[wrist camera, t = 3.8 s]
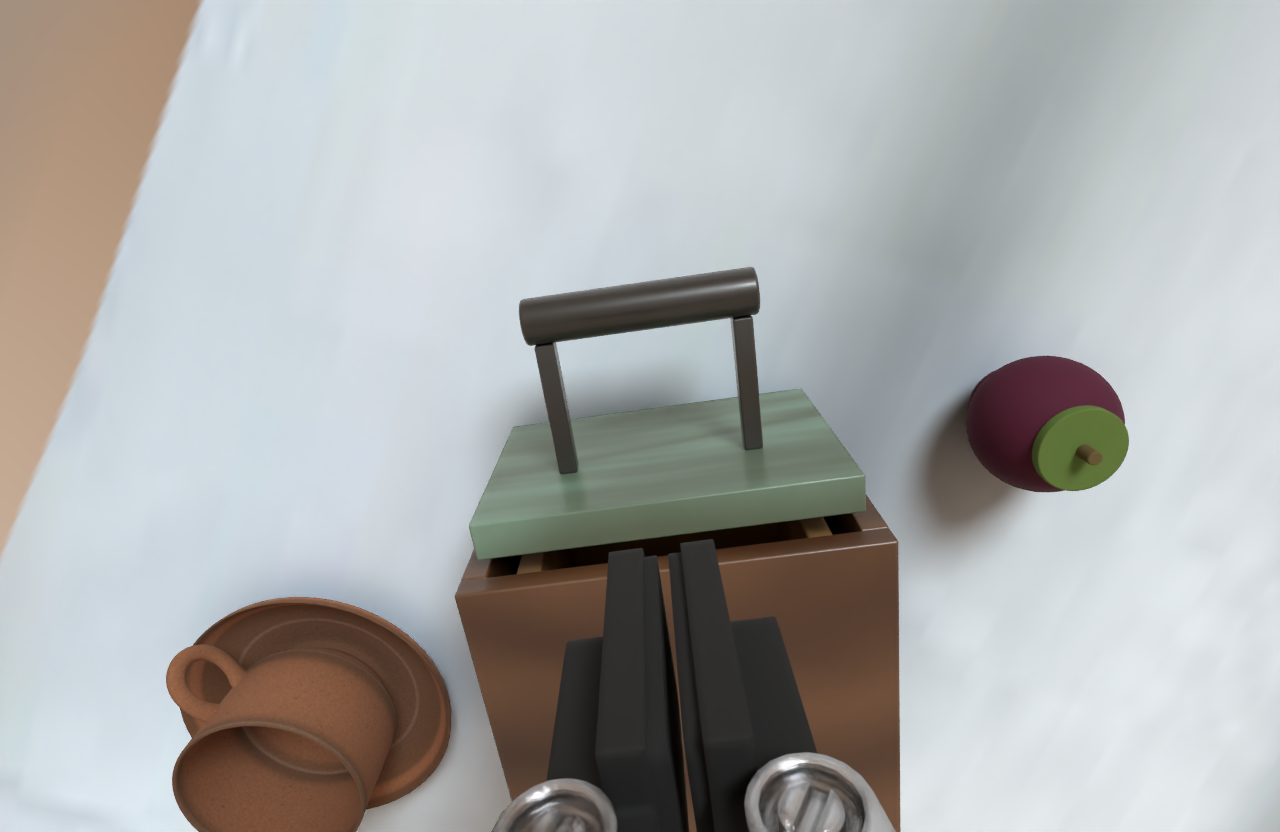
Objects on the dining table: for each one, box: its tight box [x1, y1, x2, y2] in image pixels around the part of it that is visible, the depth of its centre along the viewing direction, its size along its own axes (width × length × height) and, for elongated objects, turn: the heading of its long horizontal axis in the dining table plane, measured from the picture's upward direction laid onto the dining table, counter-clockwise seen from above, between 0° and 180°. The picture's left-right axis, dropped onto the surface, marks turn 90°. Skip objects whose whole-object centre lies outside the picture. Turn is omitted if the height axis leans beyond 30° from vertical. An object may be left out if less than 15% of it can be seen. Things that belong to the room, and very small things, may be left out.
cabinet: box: [455, 495, 900, 832], centre depth 26 cm, size 15×13×10 cm
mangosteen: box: [967, 356, 1129, 492], centre depth 25 cm, size 5×5×6 cm
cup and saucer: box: [166, 597, 451, 832], centre depth 30 cm, size 12×12×6 cm
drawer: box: [469, 267, 866, 574], centre depth 24 cm, size 19×11×8 cm, turn 8°
